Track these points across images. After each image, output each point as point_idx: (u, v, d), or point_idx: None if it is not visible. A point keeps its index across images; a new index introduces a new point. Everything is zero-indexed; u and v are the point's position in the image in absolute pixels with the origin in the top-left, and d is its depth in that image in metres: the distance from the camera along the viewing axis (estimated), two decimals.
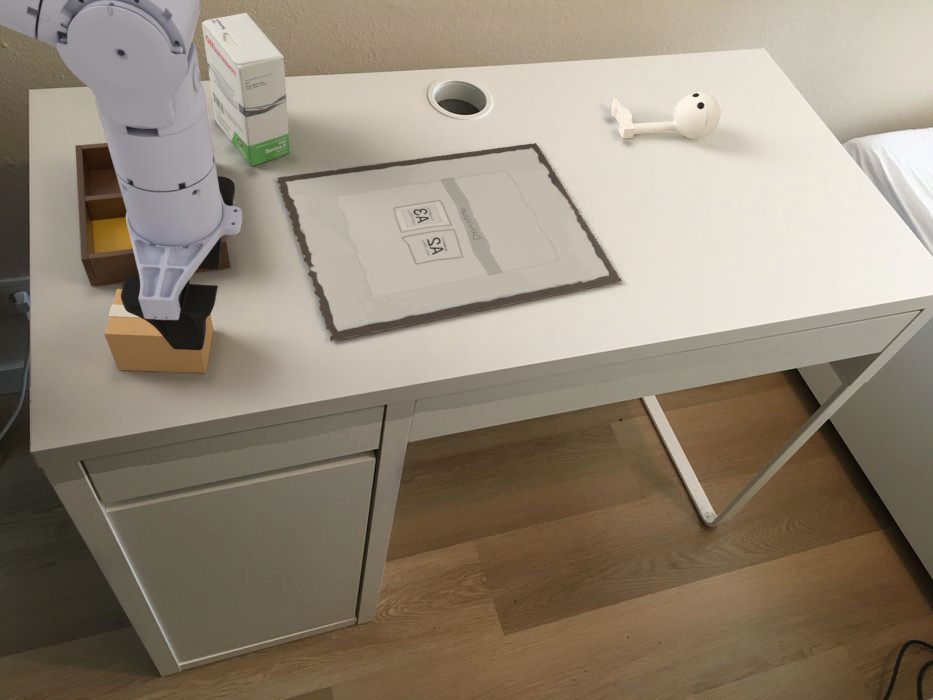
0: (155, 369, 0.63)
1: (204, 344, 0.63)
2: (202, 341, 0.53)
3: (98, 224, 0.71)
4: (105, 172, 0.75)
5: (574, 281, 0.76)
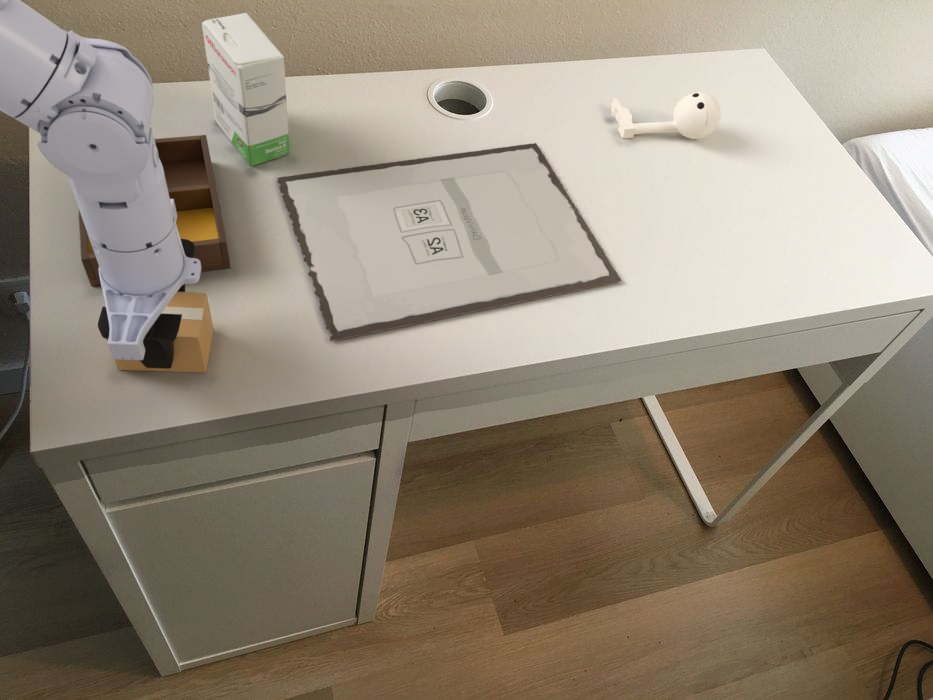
0: (155, 369, 0.63)
1: (204, 344, 0.63)
2: (170, 361, 0.61)
3: None
4: None
5: (574, 281, 0.76)
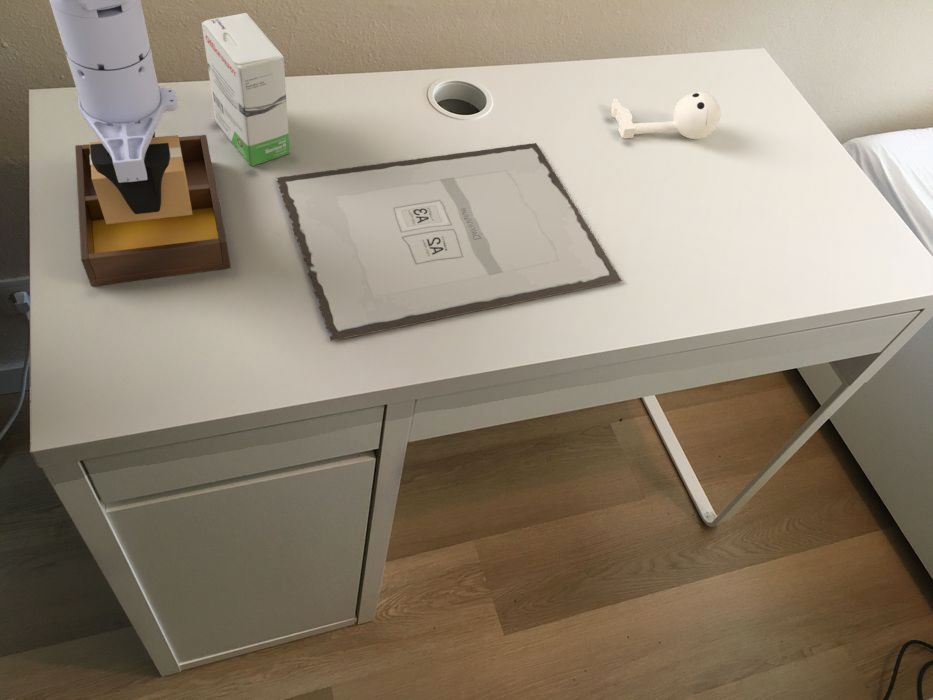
0: (143, 217, 0.65)
1: None
2: (159, 201, 0.64)
3: (98, 224, 0.71)
4: None
5: (574, 281, 0.76)
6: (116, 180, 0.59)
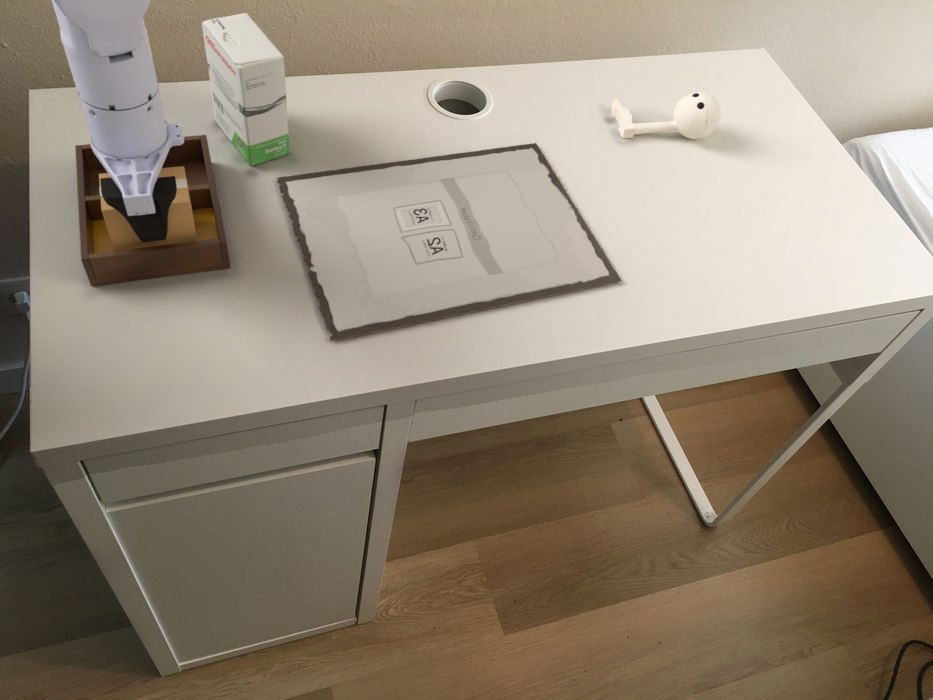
0: (150, 245, 0.68)
1: (192, 213, 0.68)
2: (166, 230, 0.66)
3: (98, 224, 0.71)
4: (105, 172, 0.75)
5: (574, 281, 0.76)
6: (125, 212, 0.62)
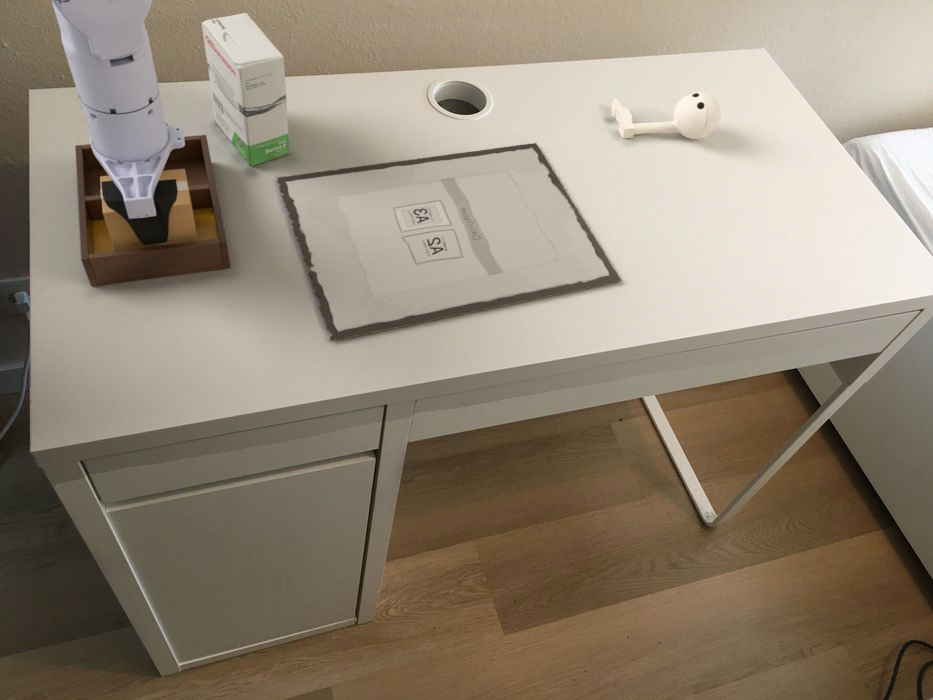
0: None
1: None
2: (167, 233, 0.66)
3: (98, 224, 0.71)
4: (105, 172, 0.75)
5: (574, 281, 0.76)
6: (126, 215, 0.62)
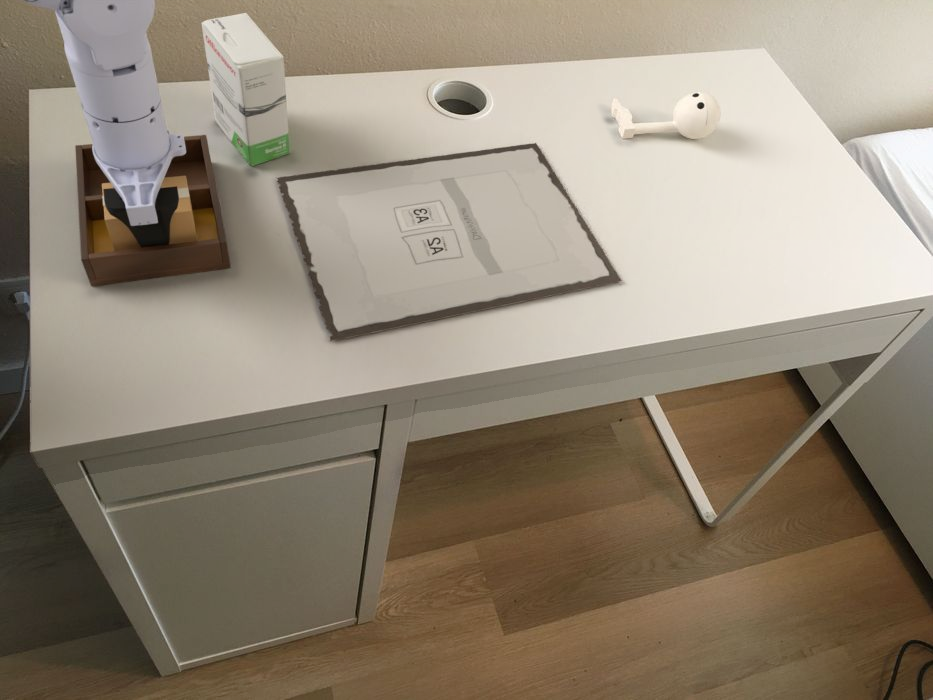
0: None
1: None
2: (168, 239, 0.67)
3: (98, 224, 0.71)
4: None
5: (574, 281, 0.76)
6: (128, 222, 0.63)
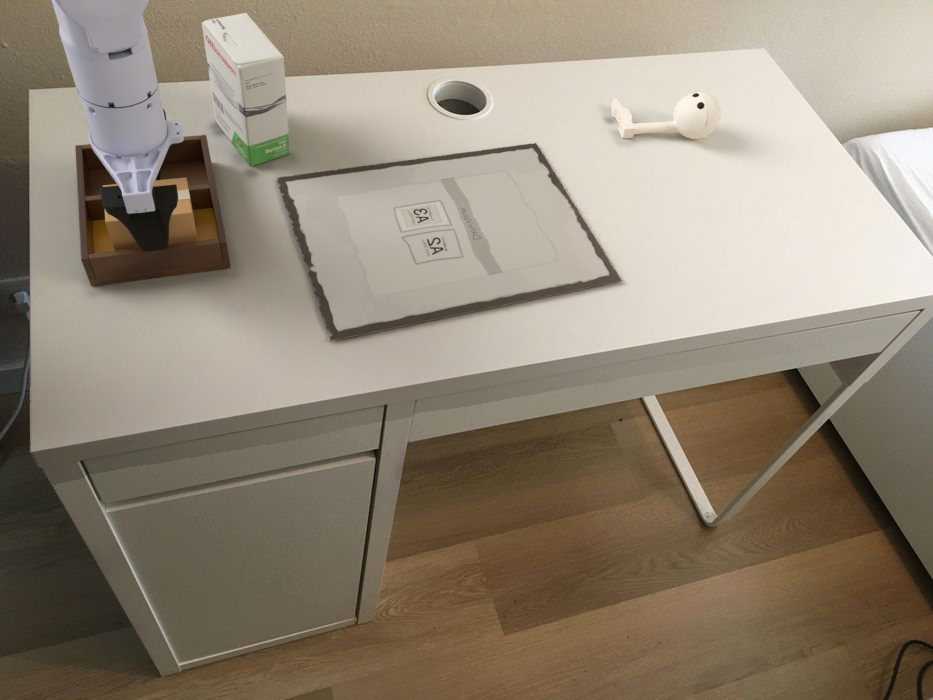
0: None
1: None
2: (167, 239, 0.65)
3: (98, 224, 0.71)
4: (105, 172, 0.75)
5: (574, 281, 0.76)
6: (126, 221, 0.61)
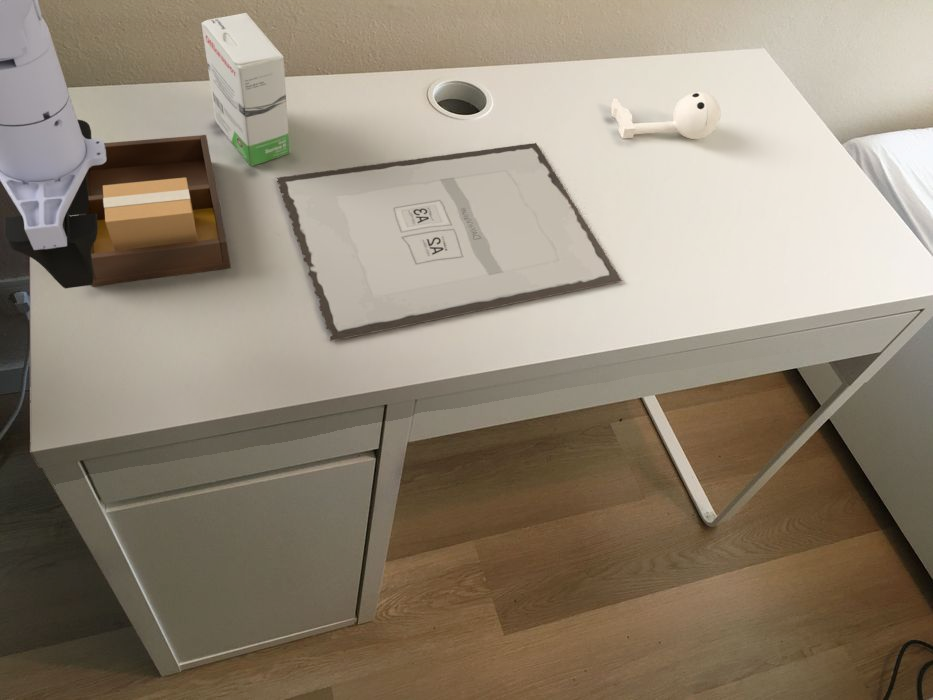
0: None
1: None
2: (91, 274, 0.56)
3: (98, 224, 0.71)
4: (105, 172, 0.75)
5: (574, 281, 0.76)
6: (37, 256, 0.52)
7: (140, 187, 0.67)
